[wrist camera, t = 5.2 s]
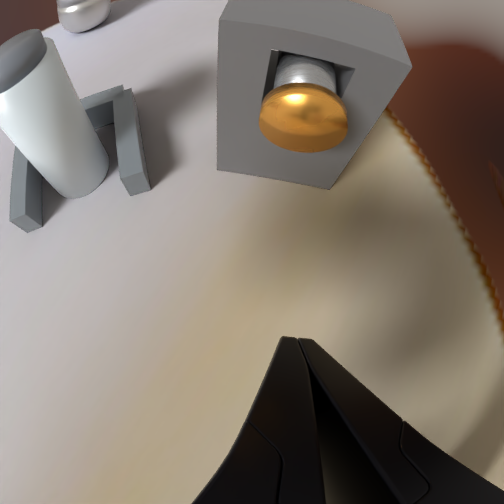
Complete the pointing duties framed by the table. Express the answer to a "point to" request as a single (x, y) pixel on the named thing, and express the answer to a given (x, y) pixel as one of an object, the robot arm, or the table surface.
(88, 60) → the table surface
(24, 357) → the table surface
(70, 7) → the plastic bottle
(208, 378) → the table surface
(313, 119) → the plunger
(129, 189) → the cradle
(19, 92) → the cylinder
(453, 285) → the table surface
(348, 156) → the block
